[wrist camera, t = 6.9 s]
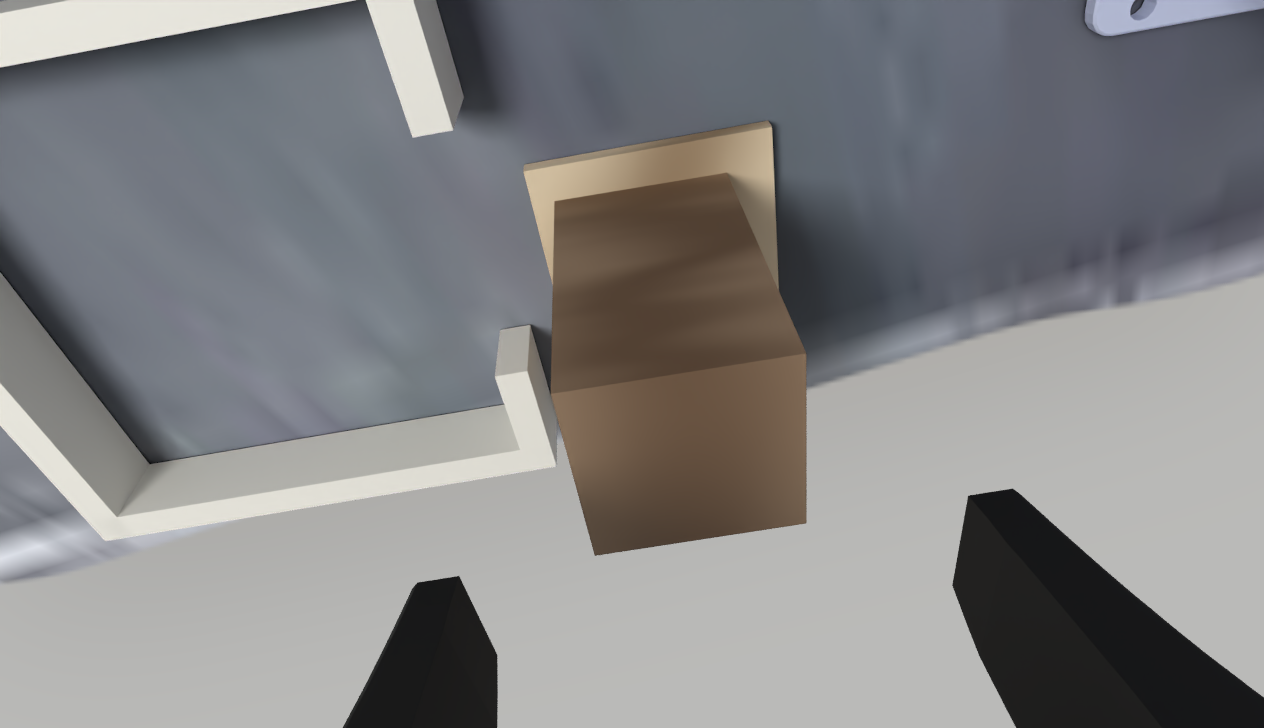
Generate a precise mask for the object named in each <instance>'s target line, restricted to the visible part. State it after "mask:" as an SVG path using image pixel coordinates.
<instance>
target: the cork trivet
mask: <svg viewBox="0 0 1264 728" xmlns="http://www.w3.org/2000/svg"><path fill="white" fill-rule="evenodd" d="M721 173H727V174H728V177H729V179H730V181H731V183H732V186H733V188H734V190H735V192H736V195H737V197H738V199H739V202H740V204H741V206H742V208H743V211H744V213H745V215H746V217H747V220H748V222H749V224H750V227H751V229H752V231H753V233H754V236H755V238H756V240H757V242H758V245H759V247H760V249H761V252H762V254H763V256H764V258H765V261H766V263H767V265H768V268H769V270H770V272H771V274H772V277H773V279H774V281H775V283H776V286H777V288H778V290H779V282H778V258H777V234H776V210H775V186H774V162H773V138H772V126H771V124H770V123H769V121H763V122H758V123H752V124H747V125H741V126H736V127H730V128H725V129H719V130H714V131H708V132H702V133H697V134H691V135H686V136H680V137H675V138H669V139H664V140H658V141H652V142H647V143H641V144H636V145H630V146H625V147H619V148H614V149H608V150H602V151H597V152H591V153H586V154H580V155H575V156H569V157H564V158H558V159H552V160H547V161H541V162H536V163H530V164H525V165H524V175H525V179H526V183H527V187H528V191H529V195H530V199H531V203H532V206H533V210H534V214H535V218H536V222H537V226H538V230H539V234H540V237H541V241H542V245H543V249H544V253H545V257H546V261H547V265H548V268H549V272H550V276H551V280H552V284H553V250H554V201H559V200H565V199H571V198H577V197H583V196H589V195H595V194H601V193H607V192H613V191H619V190H625V189H631V188H637V187H643V186H649V185H655V184H661V183H667V182H673V181H679V180H685V179H691V178H697V177H703V176H709V175H715V174H721Z"/></svg>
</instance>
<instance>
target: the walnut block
mask: <svg viewBox="0 0 1264 728" xmlns="http://www.w3.org/2000/svg"><path fill="white" fill-rule="evenodd" d="M551 397H552V400H553V404H554V408H555V411H556V415H557V419H558V422H559V426H560V430H561V433H562V437H563V441H564V444H565V448H566V451H567V455H568V459H569V463H570V466H571V470H572V473H573V477H574V481H575V484H576V488H577V492H578V496H579V499H580V503H581V506H582V510H583V514H584V518H585V521H586V525H587V529H588V532H589V535H590V540H591V543H592V547H593V550H594V554H595V556H596V555H602V554H609V553H615V552H622V551H628V550H634V549H641V548H648V547H654V546H661V545H668V544H674V543H681V542H687V541H694V540H700V539H706V538H714V537H720V536H726V535H733V534H740V533H746V532H753V531H759V530H766V529H772V528H779V527H785V526H792V525H798V524H805V523H806V352H805V349H804V347H803V345H802V343H801V340H800V338H799V336H798V333H797V331H796V329H795V327H794V324H793V322H792V320H791V318H790V315H789V313H788V311H787V308H786V306H785V304H784V302H783V299H782V297H781V295H780V293H779V290H778V288H777V286H776V283H775V281H774V279H773V277H772V274H771V272H770V270H769V268H768V265H767V263H766V261H765V258H764V256H763V254H762V252H761V249H760V247H759V245H758V242H757V240H756V238H755V236H754V233H753V231H752V229H751V227H750V224H749V222H748V220H747V217H746V215H745V213H744V211H743V208H742V206H741V204H740V202H739V199H738V197H737V195H736V192H735V190H734V188H733V186H732V183H731V181H730V179H729V177H728V174H727V173H721V174H715V175H709V176H703V177H697V178H691V179H685V180H679V181H673V182H667V183H661V184H655V185H649V186H643V187H637V188H631V189H625V190H619V191H613V192H607V193H601V194H595V195H589V196H583V197H577V198H571V199H565V200H559V201H554V250H553V302H552V354H551Z"/></svg>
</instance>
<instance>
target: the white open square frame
mask: <svg viewBox="0 0 1264 728" xmlns="http://www.w3.org/2000/svg"><path fill="white" fill-rule="evenodd" d="M349 1H354V0H5V1H0V67H5V66H11V65H16V64H21V63H27V62H32V61H37V60H42V59H48V58H53V57H58V56H64V55H69V54H74V53H79V52H85V51H90V50H95V49H101V48H106V47H111V46H116V45H122V44H127V43H132V42H138V41H143V40H148V39H153V38H159V37H164V36H169V35H174V34H180V33H185V32H190V31H196V30H201V29H206V28H211V27H217V26H222V25H227V24H233V23H238V22H243V21H248V20H254V19H259V18H264V17H270V16H275V15H280V14H285V13H291V12H296V11H301V10H307V9H312V8H317V7H322V6H328V5H333V4H338V3H344V2H349ZM366 3H367V6H368V9H369V12H370V14H371V17H372V20H373V23H374V26H375V29H376V32H377V35H378V38H379V41H380V44H381V46H382V49H383V52H384V55H385V58H386V61H387V64H388V67H389V70H390V73H391V76H392V79H393V81H394V84H395V87H396V90H397V93H398V96H399V99H400V102H401V105H402V108H403V111H404V113H405V116H406V119H407V122H408V125H409V128H410V131H411V134H412V137H419V136H424V135H430V134H435V133H440V132H446V131H451V130H453V129H454V126H455V123H456V120H457V117H458V114H459V111H460V108H461V105H462V102H463V99H464V96H463V92H462V89H461V85H460V82H459V78H458V75H457V72H456V68H455V65H454V61H453V58H452V54H451V51H450V47H449V44H448V41H447V37H446V34H445V30H444V27H443V23H442V20H441V16H440V13H439V10H438V6H437V3H436V0H366ZM495 378H496V381H497V384H498V387H499V390H500V393H501V396H502V399H503V402H504V405H498V406H492V407H486V408H480V409H474V410H468V411H462V412H457V413H451V414H445V415H439V416H433V417H427V418H421V419H415V420H409V421H403V422H397V423H391V424H386V425H380V426H374V427H368V428H362V429H356V430H350V431H344V432H338V433H332V434H326V435H320V436H315V437H309V438H303V439H297V440H291V441H285V442H279V443H273V444H267V445H261V446H255V447H249V448H243V449H238V450H232V451H226V452H220V453H214V454H208V455H202V456H196V457H190V458H184V459H178V460H172V461H167V462H161V463H155V464H149V463H148V462H147V460H146V459H145V458H144V457H143V455H142V454H141V453H140V451H139V450H138V449H137V448H136V446H135V445H134V444H133V442H132V441H131V440H130V439H129V437H128V436H127V435H126V433H125V432H124V431H123V430H122V428H121V427H120V426H119V424H118V423H117V422H116V421H115V419H114V418H113V417H112V415H111V414H110V413H109V411H108V410H107V409H106V408H105V406H104V405H103V404H102V402H101V401H100V400H99V399H98V397H97V396H96V395H95V393H94V392H93V391H92V390H91V388H90V387H89V386H88V384H87V383H86V382H85V381H84V379H83V378H82V377H81V375H80V374H79V373H78V372H77V370H76V369H75V368H74V366H73V365H72V364H71V363H70V361H69V360H68V359H67V357H66V356H65V355H64V354H63V352H62V351H61V350H60V348H59V347H58V346H57V345H56V343H55V342H54V341H53V339H52V338H51V337H50V336H49V334H48V333H47V332H46V330H45V329H44V328H43V327H42V325H41V324H40V323H39V321H38V320H37V319H36V318H35V316H34V315H33V314H32V312H31V311H30V310H29V309H28V307H27V306H26V305H25V303H24V302H23V301H22V300H21V298H20V297H19V296H18V294H17V293H16V292H15V291H14V289H13V288H12V287H11V285H10V284H9V283H8V281H7V280H6V279H5V278H4V276H3V275H2V274H1V272H0V426H1V427H2V428H3V429H4V430H5V431H6V432H7V434H8V435H9V436H10V437H11V438H12V439H13V440H14V441H15V442H16V443H17V445H18V446H19V447H20V448H21V449H22V450H23V451H24V452H25V453H26V454H27V456H28V457H29V458H30V459H31V460H32V461H33V462H34V463H35V464H36V465H37V467H38V468H39V469H40V470H41V471H42V472H43V473H44V474H45V475H46V476H47V478H48V479H49V480H50V481H51V482H52V483H53V484H54V485H55V486H56V487H57V489H58V490H59V491H60V492H61V493H62V494H63V495H64V496H65V497H66V498H67V500H68V501H69V502H70V503H71V504H72V505H73V506H74V507H75V508H76V509H77V511H78V512H79V513H80V514H81V515H82V516H83V517H84V518H85V519H86V520H87V522H88V523H89V524H90V525H91V526H92V527H93V528H94V529H95V530H96V531H97V533H98V534H99V535H100V536H101V537H102V538H103V539H104V540H105V541H110V540H116V539H122V538H128V537H134V536H140V535H146V534H152V533H158V532H164V531H170V530H176V529H182V528H188V527H194V526H200V525H206V524H212V523H218V522H224V521H230V520H236V519H242V518H248V517H255V516H261V515H266V514H272V513H279V512H285V511H291V510H296V509H302V508H308V507H315V506H321V505H327V504H333V503H339V502H344V501H351V500H357V499H363V498H369V497H375V496H381V495H387V494H393V493H399V492H405V491H411V490H417V489H424V488H430V487H436V486H441V485H448V484H453V483H460V482H466V481H471V480H478V479H484V478H490V477H496V476H502V475H507V474H514V473H520V472H526V471H532V470H538V469H544V468H550V467H556V466H557V416H556V412H555V409H554V405H553V402H552V398H551V395H550V392H549V388H548V385H547V381H546V378H545V374H544V371H543V367H542V364H541V361H540V357H539V354H538V350H537V347H536V343H535V340H534V336H533V333H532V330H531V326H530V325H526V326H520V327H514V328H508V329H503V330H500V337H499V345H498V354H497V363H496V371H495Z"/></svg>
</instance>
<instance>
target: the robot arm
mask: <svg viewBox="0 0 1264 728" xmlns="http://www.w3.org/2000/svg"><path fill="white" fill-rule="evenodd" d="M1134 1H1135V0H1087V4H1086V9H1085V22H1086V24H1087V26H1088V28H1089V29H1091V30H1092V31H1094V32H1096V33H1098V34H1100V35H1103V36H1114V35H1120V34H1125V33H1131V32H1136V31H1142V30H1147V29H1153V28H1158V27H1164V26H1170V25H1175V24H1181V23H1186V22H1192V21H1197V20H1203V19H1208V18H1214V17H1219V16H1225V15H1230V14H1236V13H1241V12H1247V11H1252V10H1258V9H1263V8H1264V0H1144V2H1143V5H1142V7H1141V8H1140V9H1139V10H1138V11H1137V12H1136V13H1134V14H1132V15H1130V8H1131V6H1132V4H1133V2H1134ZM953 588H954V591H955V593H956V596H957V599H958V601H959V604H960V607H961V609H962V612H963V615H964V618H965V620H966V623H967V625H968V628H969V631H970V633H971V635H972V638H973V641H974V643H975V646H976V648H977V651H978V653H979V656H980V658H981V660H982V662H983V664H984V666H985V668H986V670H987V672H988V674H989V676H990V677H991V680H992V682H993V684H994V686H995V687H996V689H997V691H998V693H999V695H1000V697H1001V699H1002V701H1003V703H1004V705H1005V707H1006V709H1007V711H1008V713H1009V714H1010V716H1011V718H1012V720H1013V722H1014V724H1015V726H1016V728H1264V697H1262V696H1261V695H1260V694H1258V693H1257V692H1256V691H1254V690H1253V689H1252V688H1250V687H1249V686H1247V685H1246V684H1245V683H1244V682H1242V681H1241V680H1240V679H1238V678H1237V677H1236V676H1235V675H1233V674H1232V673H1230V672H1229V671H1228V670H1227V669H1225V668H1224V667H1223V666H1221V665H1220V664H1219V663H1218V662H1216V661H1215V660H1214V659H1212V658H1211V657H1210V656H1208V655H1207V654H1206V653H1205V652H1203V651H1202V650H1201V649H1200V648H1198V647H1197V646H1196V645H1195V644H1193V643H1192V642H1191V641H1190V640H1188V639H1187V638H1186V637H1185V636H1183V635H1182V634H1181V633H1179V632H1178V631H1177V630H1176V629H1175V628H1173V627H1172V626H1171V625H1170V624H1169V623H1167V622H1166V621H1165V620H1164V619H1163V618H1161V617H1160V616H1159V615H1158V614H1157V613H1155V612H1154V611H1153V610H1152V609H1151V608H1149V607H1148V606H1147V605H1146V604H1145V603H1143V602H1142V601H1141V600H1140V599H1138V598H1137V597H1136V596H1135V595H1134V594H1132V593H1131V592H1130V591H1129V590H1128V589H1126V588H1125V587H1124V586H1123V585H1122V584H1120V583H1119V582H1118V581H1117V580H1116V579H1115V578H1114V577H1112V576H1111V575H1110V574H1109V573H1108V572H1107V571H1105V570H1104V569H1103V568H1102V567H1101V566H1100V565H1099V564H1098V563H1096V562H1095V561H1094V560H1093V559H1092V558H1091V557H1089V556H1088V555H1087V554H1086V553H1085V552H1084V551H1083V550H1082V549H1080V548H1079V547H1078V546H1077V545H1076V544H1075V543H1074V542H1072V541H1071V540H1070V539H1069V538H1068V537H1067V536H1066V535H1065V534H1064V533H1062V532H1061V531H1060V530H1059V529H1058V528H1057V527H1056V526H1055V525H1054V524H1052V523H1051V522H1050V521H1049V520H1048V519H1047V518H1046V517H1045V516H1044V515H1042V514H1041V513H1040V512H1039V511H1038V510H1037V509H1036V508H1035V507H1034V506H1033V505H1032V504H1030V503H1029V502H1028V501H1027V500H1026V499H1025V498H1024V497H1023V496H1022V495H1020V494H1019V493H1018V492H1016V491H1015V490H1014V489H1009V490H1002V491H996V492H989V493H983V494H976V495H970V496H968V501H967V507H966V512H965V517H964V523H963V529H962V535H961V540H960V546H959V551H958V557H957V563H956V569H955V574H954V580H953ZM497 693H498V692H497V654H496V652H495V649H494V647H493V645H492V643H491V641H490V639H489V637H488V635H487V633H486V631H485V629H484V627H483V625H482V623H481V621H480V619H479V616H478V614H477V612H476V610H475V608H474V606H473V604H472V602H471V600H470V598H469V596H468V594H467V592H466V589H465V587H464V586H463V584H462V581H461V579H460V577H459V576H457V577H451V578H444V579H438V580H432V581H425V582H419V583H417V584H416V585H415V586H414V588H413V589H412V591H411V593H410V595H409V597H408V599H407V601H406V604H405V605H404V608H403V610H402V612H401V614H400V616H399V618H398V620H397V622H396V624H395V627H394V629H393V631H392V633H391V635H390V637H389V639H388V641H387V643H386V645H385V647H384V649H383V651H382V654H381V655H380V657H379V659H378V661H377V663H376V665H375V667H374V669H373V671H372V673H371V675H370V677H369V679H368V681H367V683H366V685H365V687H364V689H363V691H362V693H361V695H360V696H359V698H358V701H357V702H356V704H355V706H354V708H353V710H352V711H351V713H350V715H349V717H348V719H347V721H346V723H345V725H344V726H343V728H497Z"/></svg>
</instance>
